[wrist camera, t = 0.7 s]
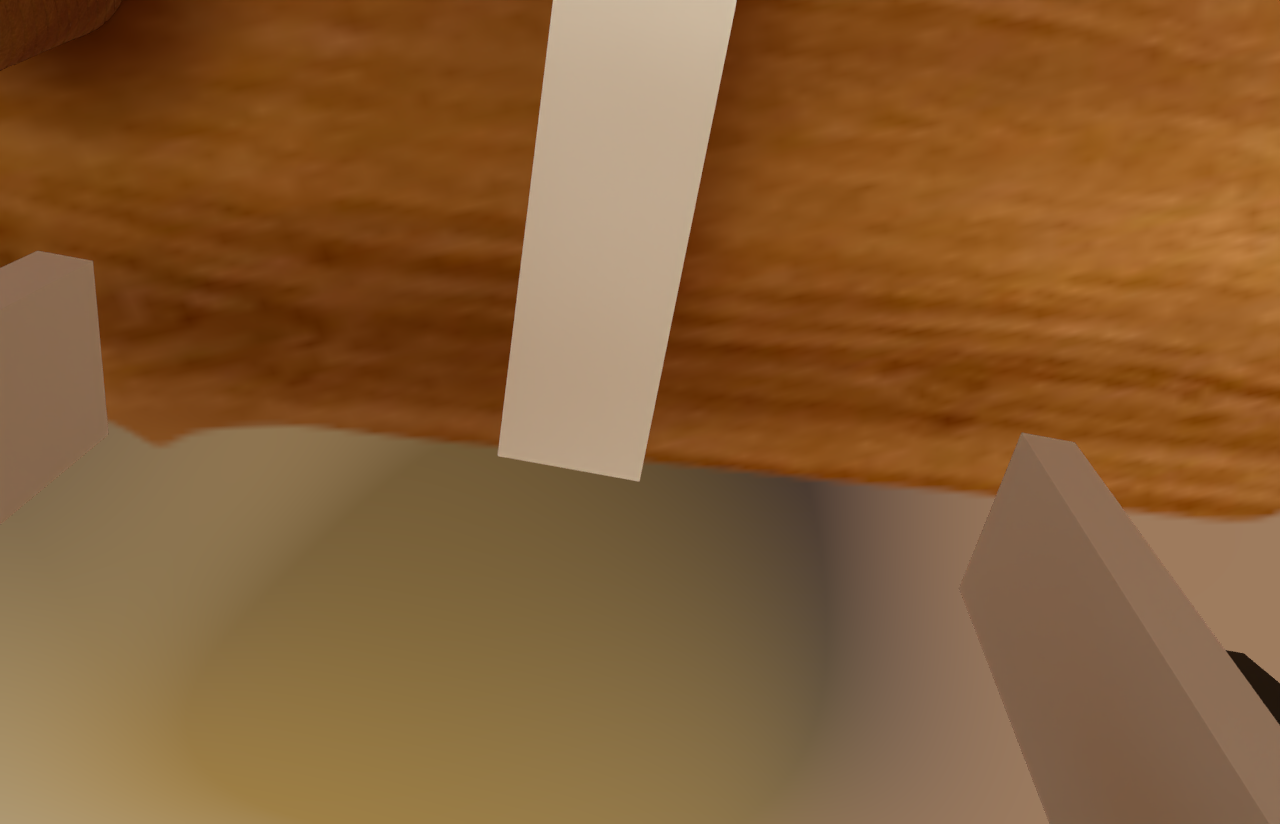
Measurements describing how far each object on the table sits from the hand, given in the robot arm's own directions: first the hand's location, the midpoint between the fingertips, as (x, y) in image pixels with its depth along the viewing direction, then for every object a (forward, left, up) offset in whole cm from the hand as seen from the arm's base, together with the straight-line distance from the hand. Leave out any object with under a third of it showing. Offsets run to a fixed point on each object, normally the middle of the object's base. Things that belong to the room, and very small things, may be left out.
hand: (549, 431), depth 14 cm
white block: (0, 0, -21) cm, 21 cm away
